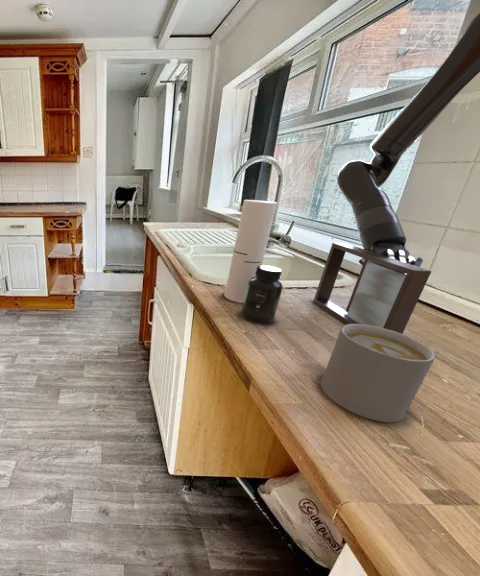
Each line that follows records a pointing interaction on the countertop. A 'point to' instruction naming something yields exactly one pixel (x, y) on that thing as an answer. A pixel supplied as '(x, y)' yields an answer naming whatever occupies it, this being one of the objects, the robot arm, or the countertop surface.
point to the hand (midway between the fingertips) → (402, 295)
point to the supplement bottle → (262, 295)
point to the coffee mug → (375, 371)
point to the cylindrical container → (249, 246)
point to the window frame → (374, 289)
